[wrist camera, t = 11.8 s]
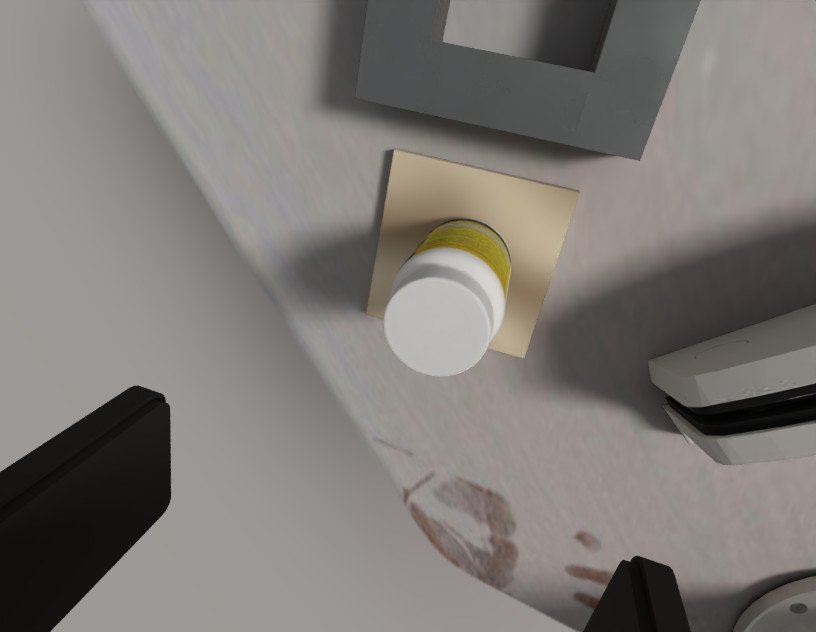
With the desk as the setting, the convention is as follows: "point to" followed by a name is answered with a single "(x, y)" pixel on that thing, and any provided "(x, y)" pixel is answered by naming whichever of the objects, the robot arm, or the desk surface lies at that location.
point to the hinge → (746, 390)
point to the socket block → (528, 75)
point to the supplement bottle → (449, 298)
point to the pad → (484, 200)
